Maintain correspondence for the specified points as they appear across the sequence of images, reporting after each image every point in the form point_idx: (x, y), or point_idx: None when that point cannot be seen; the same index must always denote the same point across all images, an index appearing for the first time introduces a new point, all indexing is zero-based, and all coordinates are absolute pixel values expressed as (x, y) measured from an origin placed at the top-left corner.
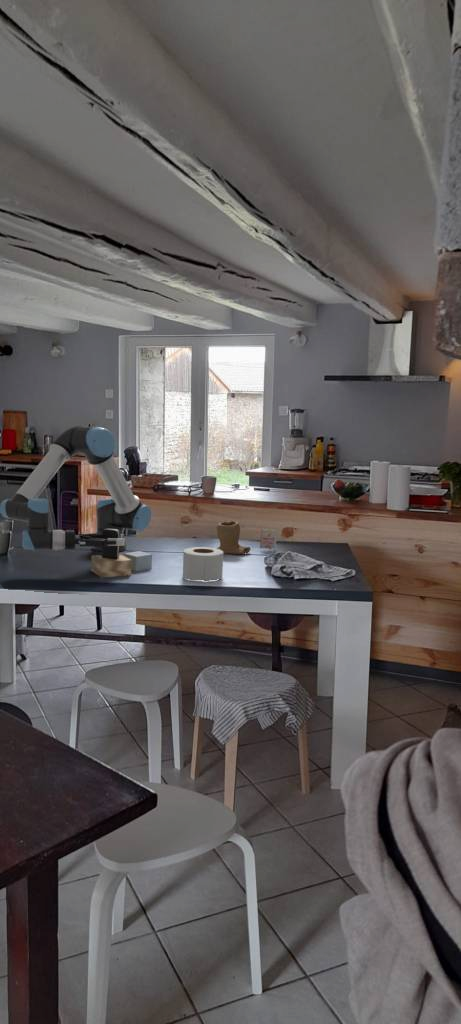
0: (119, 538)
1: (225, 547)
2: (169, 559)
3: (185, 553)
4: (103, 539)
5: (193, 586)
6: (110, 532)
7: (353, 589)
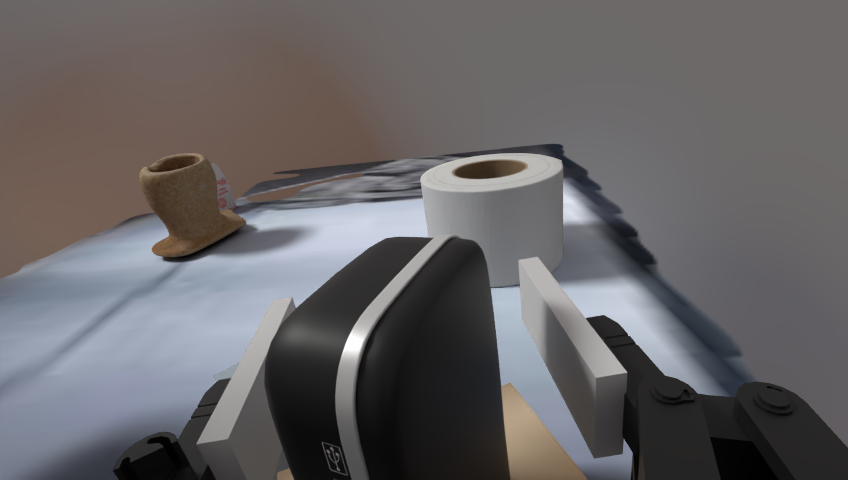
0: (539, 284)
1: (205, 230)
2: (192, 339)
3: (529, 188)
4: (701, 430)
5: (635, 258)
6: (457, 305)
7: (534, 148)
